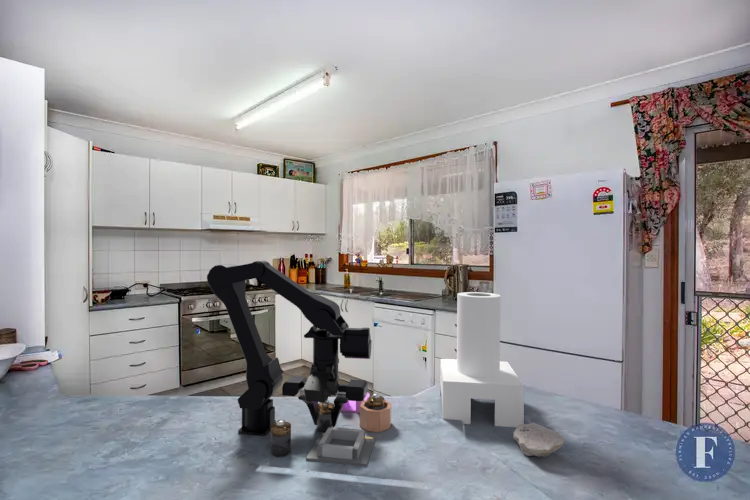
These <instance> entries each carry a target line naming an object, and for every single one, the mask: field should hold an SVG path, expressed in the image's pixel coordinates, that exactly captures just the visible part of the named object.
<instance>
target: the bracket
mask: <svg viewBox="0 0 750 500" xmlns="http://www.w3.org/2000/svg"><path fill="white" fill-rule="evenodd" d="M370 395H371V394H370V392H369V391H368V392H367V395H366V397H365V399H364V401H365V400H367V398H368V397H369V396H370ZM361 403H362V401H349V400H348V402H347V403H344V404H343V406H342V409H341V412H348V413H356V414H360V405H361Z"/></svg>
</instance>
